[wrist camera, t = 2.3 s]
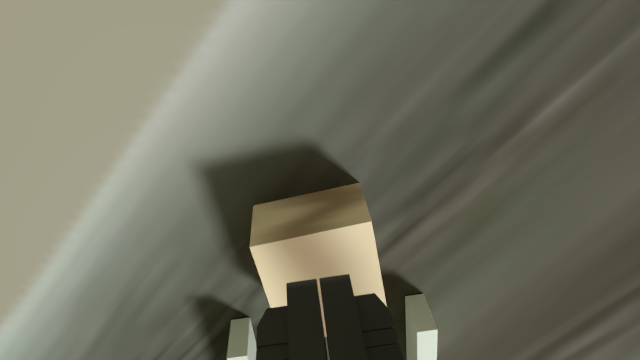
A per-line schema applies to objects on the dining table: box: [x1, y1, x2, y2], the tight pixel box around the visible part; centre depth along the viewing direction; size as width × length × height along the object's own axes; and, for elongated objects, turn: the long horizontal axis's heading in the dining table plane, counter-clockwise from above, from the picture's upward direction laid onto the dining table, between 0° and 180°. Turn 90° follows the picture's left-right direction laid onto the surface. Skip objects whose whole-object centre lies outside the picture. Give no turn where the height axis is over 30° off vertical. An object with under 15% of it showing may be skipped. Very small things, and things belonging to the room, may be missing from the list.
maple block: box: [250, 183, 387, 337], centre depth 26 cm, size 6×7×4 cm
